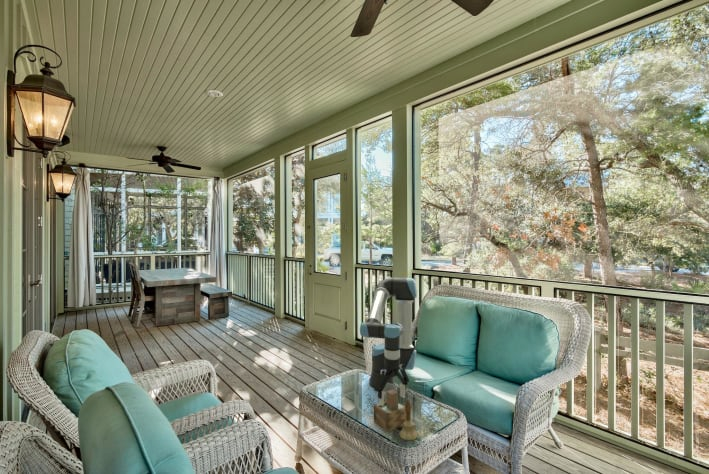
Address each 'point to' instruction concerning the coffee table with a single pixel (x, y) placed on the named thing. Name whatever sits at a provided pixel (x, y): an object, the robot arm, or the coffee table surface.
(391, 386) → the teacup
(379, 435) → the coffee table surface
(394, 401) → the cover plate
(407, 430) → the hand bell
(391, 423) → the open box
